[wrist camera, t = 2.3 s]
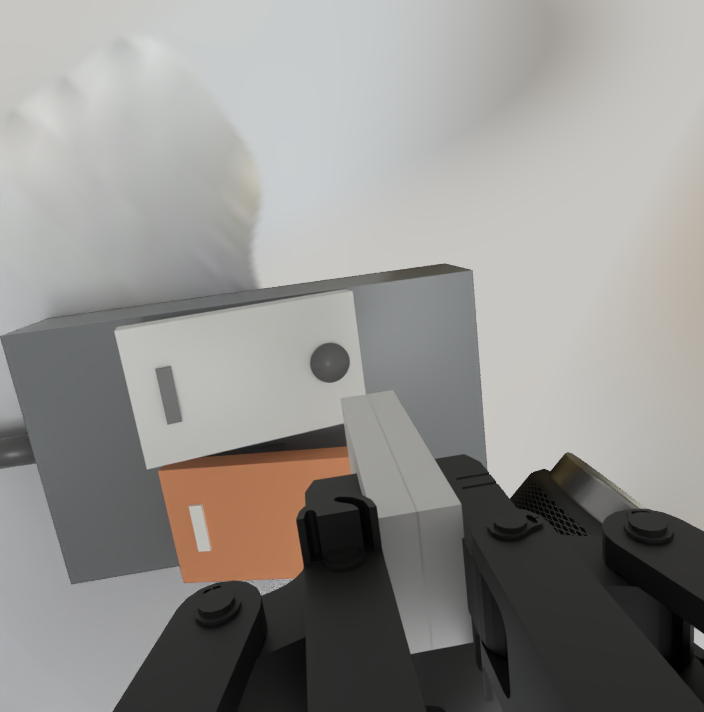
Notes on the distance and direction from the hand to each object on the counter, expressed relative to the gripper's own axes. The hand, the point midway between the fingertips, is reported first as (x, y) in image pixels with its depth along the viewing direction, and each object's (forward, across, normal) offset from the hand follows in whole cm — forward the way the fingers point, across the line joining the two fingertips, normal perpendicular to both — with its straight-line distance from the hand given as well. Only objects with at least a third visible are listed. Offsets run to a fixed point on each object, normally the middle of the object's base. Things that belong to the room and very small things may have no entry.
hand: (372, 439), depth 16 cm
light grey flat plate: (+9, -4, 0) cm, 10 cm away
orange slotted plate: (+9, -4, -7) cm, 12 cm away
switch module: (+16, -7, -3) cm, 18 cm away
